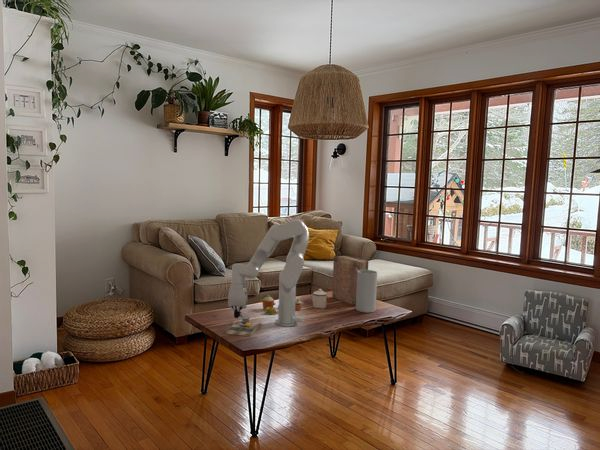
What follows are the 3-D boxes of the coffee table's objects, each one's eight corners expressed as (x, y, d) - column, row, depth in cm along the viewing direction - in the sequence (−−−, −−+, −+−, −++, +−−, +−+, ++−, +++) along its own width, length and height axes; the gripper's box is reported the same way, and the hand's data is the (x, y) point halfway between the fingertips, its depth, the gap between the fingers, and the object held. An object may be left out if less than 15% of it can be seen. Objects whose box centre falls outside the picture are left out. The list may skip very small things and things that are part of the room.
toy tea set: (266, 316, 277) (267, 300, 276) (257, 309, 291) (257, 294, 290) (305, 311, 289) (305, 296, 288) (294, 305, 303) (294, 291, 302)
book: (366, 304, 310) (368, 260, 307) (356, 306, 304) (358, 261, 301) (342, 296, 330) (343, 254, 327) (332, 297, 325) (333, 255, 322)
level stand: (261, 325, 257) (261, 322, 257) (250, 336, 240) (250, 332, 240) (237, 323, 260) (237, 320, 260) (225, 333, 243) (225, 329, 243)
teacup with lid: (329, 306, 301) (329, 289, 300) (320, 309, 294) (321, 291, 293) (314, 303, 309) (315, 286, 308) (306, 305, 302) (306, 288, 301)
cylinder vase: (366, 314, 287) (368, 274, 285) (351, 309, 296) (353, 271, 294) (379, 310, 295) (381, 272, 293) (364, 306, 305) (366, 269, 302)
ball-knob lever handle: (254, 329, 245) (254, 321, 244) (243, 330, 243) (243, 322, 242) (245, 316, 267) (245, 309, 266) (234, 317, 265) (235, 310, 264)
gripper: (252, 285, 261) (251, 317, 263) (228, 283, 265) (227, 314, 266) (248, 288, 254) (247, 321, 256) (222, 285, 257) (221, 317, 259)
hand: (236, 317), depth 261 cm, fingers closed
